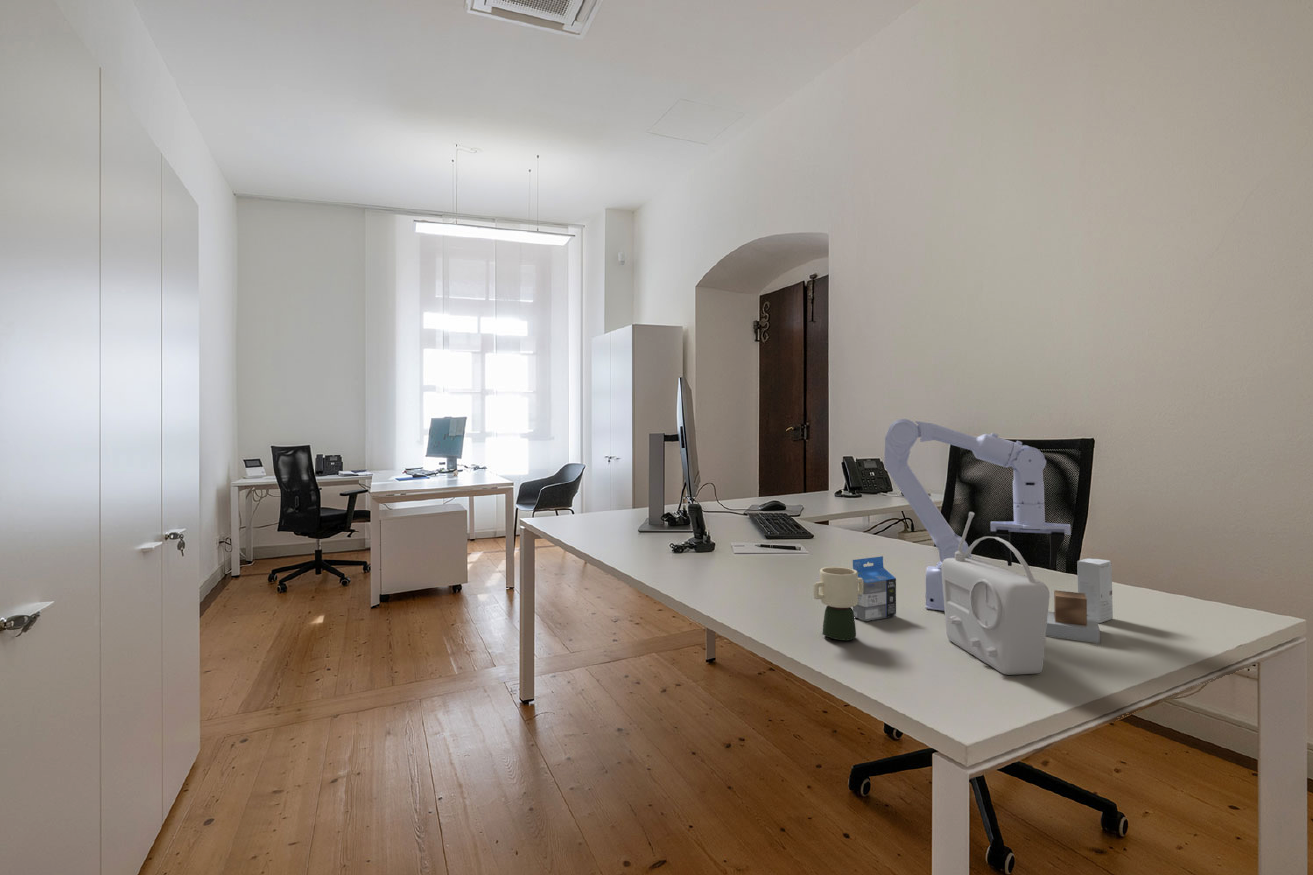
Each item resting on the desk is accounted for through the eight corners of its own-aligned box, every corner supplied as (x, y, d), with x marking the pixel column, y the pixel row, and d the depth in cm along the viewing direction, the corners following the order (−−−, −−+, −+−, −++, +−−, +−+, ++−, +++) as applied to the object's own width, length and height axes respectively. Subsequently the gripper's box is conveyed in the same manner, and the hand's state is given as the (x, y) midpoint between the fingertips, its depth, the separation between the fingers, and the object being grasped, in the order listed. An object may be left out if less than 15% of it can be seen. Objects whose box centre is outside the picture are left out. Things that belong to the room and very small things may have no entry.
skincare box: (1100, 623, 126) (1100, 564, 126) (1076, 618, 130) (1076, 560, 130) (1113, 618, 130) (1113, 560, 129) (1089, 613, 133) (1089, 557, 133)
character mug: (852, 629, 125) (851, 564, 124) (875, 640, 118) (874, 572, 118) (804, 635, 121) (803, 569, 121) (824, 647, 114) (824, 577, 114)
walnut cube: (1055, 621, 120) (1055, 595, 120) (1054, 615, 124) (1054, 590, 124) (1086, 625, 117) (1086, 599, 117) (1084, 618, 122) (1084, 593, 122)
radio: (932, 636, 120) (931, 507, 119) (973, 635, 120) (972, 506, 120) (1003, 682, 98) (1003, 524, 98) (1053, 680, 98) (1053, 523, 98)
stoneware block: (1042, 638, 120) (1042, 622, 120) (1042, 625, 127) (1042, 610, 127) (1099, 646, 115) (1099, 630, 115) (1095, 632, 123) (1095, 617, 123)
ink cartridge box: (865, 622, 129) (864, 563, 129) (851, 617, 132) (851, 559, 132) (897, 616, 133) (896, 559, 132) (883, 611, 136) (882, 555, 136)
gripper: (988, 503, 132) (990, 567, 133) (1070, 505, 125) (1072, 573, 125) (990, 500, 139) (992, 561, 139) (1068, 502, 131) (1070, 566, 131)
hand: (1030, 566), depth 132 cm, fingers open, 7 cm apart
